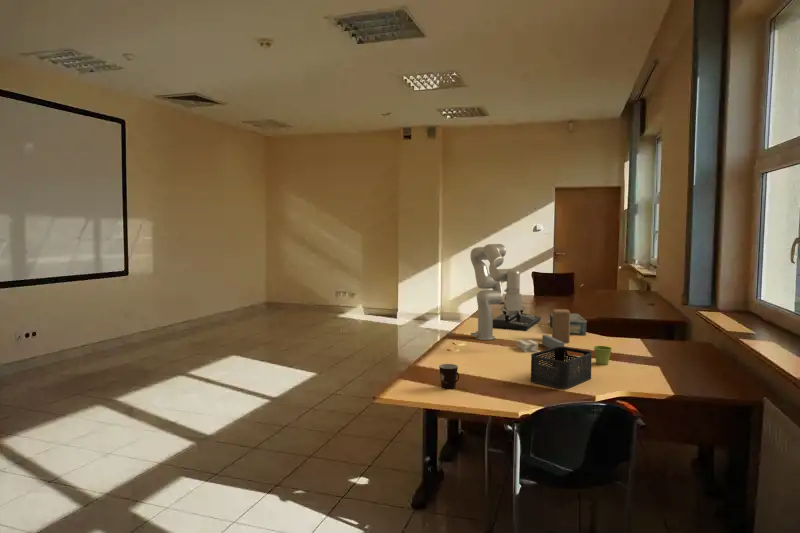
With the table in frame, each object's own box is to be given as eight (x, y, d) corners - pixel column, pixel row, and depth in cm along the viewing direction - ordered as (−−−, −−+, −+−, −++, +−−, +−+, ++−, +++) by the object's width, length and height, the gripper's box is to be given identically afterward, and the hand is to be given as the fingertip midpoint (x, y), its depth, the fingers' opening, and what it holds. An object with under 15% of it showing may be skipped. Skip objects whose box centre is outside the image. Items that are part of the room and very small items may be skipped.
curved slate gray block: (559, 353, 315) (559, 342, 315) (542, 344, 337) (542, 335, 336) (564, 352, 316) (564, 342, 315) (546, 344, 337) (546, 334, 337)
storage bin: (558, 370, 280) (558, 344, 278) (593, 378, 266) (594, 351, 265) (527, 382, 260) (528, 354, 258) (564, 391, 246) (565, 362, 245)
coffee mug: (437, 384, 255) (437, 364, 254) (455, 384, 256) (455, 363, 255) (441, 392, 244) (441, 370, 243) (460, 392, 244) (460, 370, 243)
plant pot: (612, 362, 294) (612, 346, 294) (611, 366, 286) (611, 350, 285) (594, 360, 298) (594, 345, 298) (592, 364, 290) (592, 348, 289)
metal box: (554, 335, 365) (554, 320, 364) (548, 326, 397) (549, 312, 396) (587, 336, 362) (587, 321, 361) (578, 326, 394) (579, 313, 393)
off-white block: (524, 353, 317) (524, 344, 316) (518, 348, 329) (518, 340, 328) (538, 352, 318) (538, 344, 317) (531, 347, 330) (531, 339, 329)
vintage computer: (529, 331, 377) (529, 319, 376) (488, 329, 389) (488, 317, 389) (541, 322, 415) (541, 311, 415) (504, 320, 428) (504, 310, 427)
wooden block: (569, 343, 340) (570, 311, 338) (553, 342, 342) (553, 311, 340) (568, 340, 350) (568, 309, 348) (551, 339, 352) (552, 308, 350)
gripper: (501, 292, 313) (501, 323, 314) (529, 291, 316) (529, 322, 318) (496, 290, 320) (496, 321, 322) (524, 290, 324) (523, 319, 325)
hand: (512, 321), depth 320 cm, fingers open, 6 cm apart
